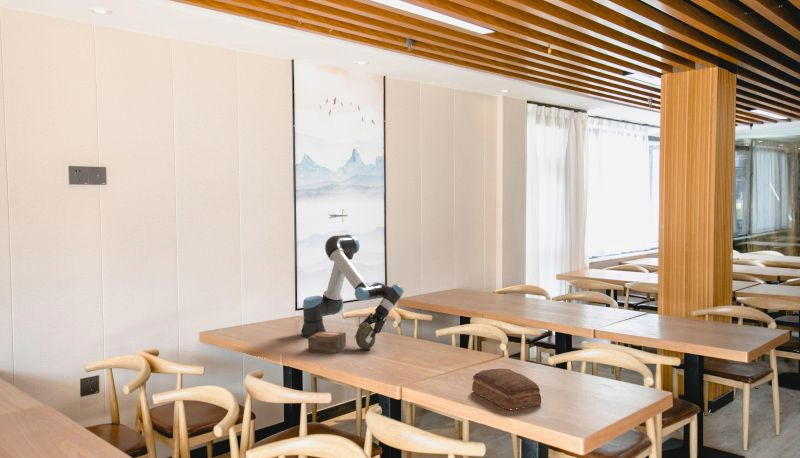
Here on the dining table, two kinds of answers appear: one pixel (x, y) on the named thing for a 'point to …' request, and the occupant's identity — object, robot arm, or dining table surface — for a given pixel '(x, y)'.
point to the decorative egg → (364, 336)
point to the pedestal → (327, 342)
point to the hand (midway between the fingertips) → (361, 340)
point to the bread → (506, 388)
